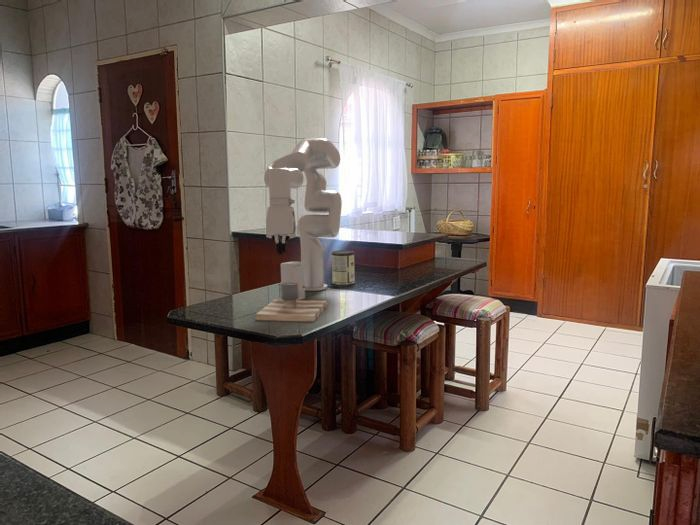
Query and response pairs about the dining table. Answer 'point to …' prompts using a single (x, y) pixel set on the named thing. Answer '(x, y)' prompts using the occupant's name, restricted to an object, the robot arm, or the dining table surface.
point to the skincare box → (294, 276)
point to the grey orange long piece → (289, 290)
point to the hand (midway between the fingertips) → (281, 253)
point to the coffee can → (343, 267)
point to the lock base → (292, 310)
